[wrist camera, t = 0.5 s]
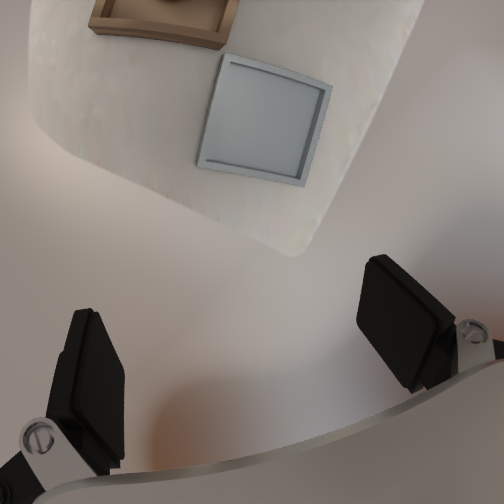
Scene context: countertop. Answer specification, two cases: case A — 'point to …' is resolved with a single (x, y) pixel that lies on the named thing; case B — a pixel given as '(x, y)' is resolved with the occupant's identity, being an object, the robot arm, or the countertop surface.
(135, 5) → the bin
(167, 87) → the countertop surface
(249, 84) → the tray
